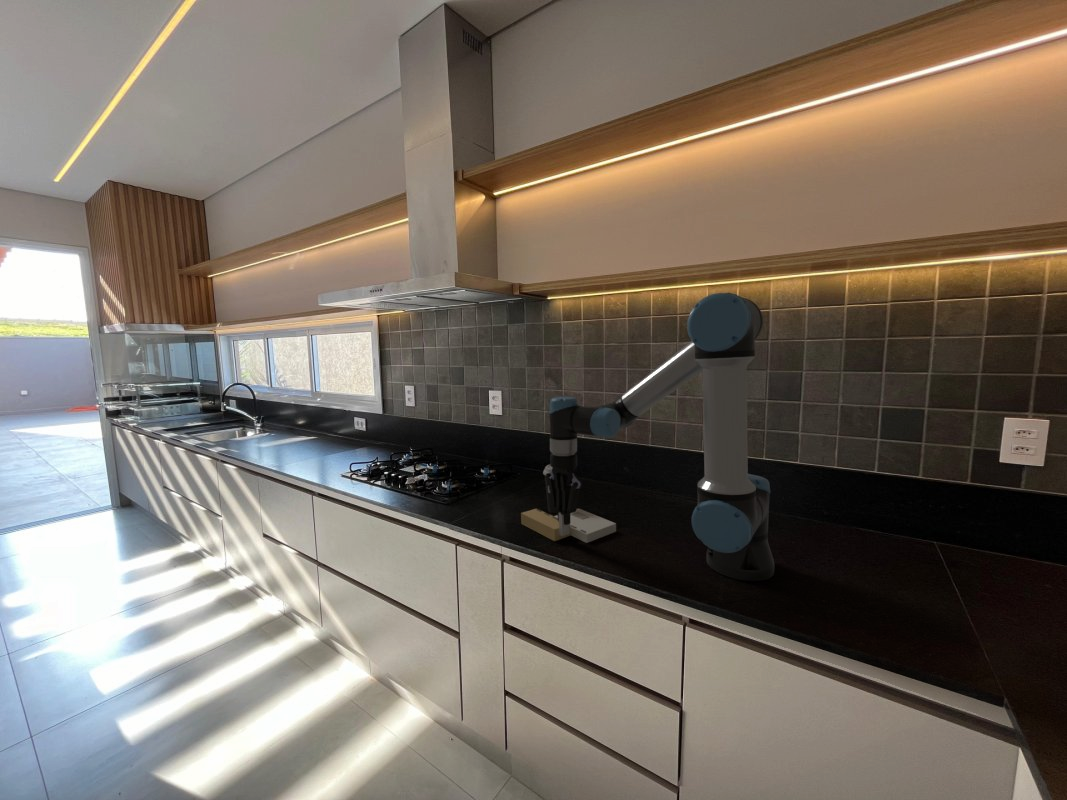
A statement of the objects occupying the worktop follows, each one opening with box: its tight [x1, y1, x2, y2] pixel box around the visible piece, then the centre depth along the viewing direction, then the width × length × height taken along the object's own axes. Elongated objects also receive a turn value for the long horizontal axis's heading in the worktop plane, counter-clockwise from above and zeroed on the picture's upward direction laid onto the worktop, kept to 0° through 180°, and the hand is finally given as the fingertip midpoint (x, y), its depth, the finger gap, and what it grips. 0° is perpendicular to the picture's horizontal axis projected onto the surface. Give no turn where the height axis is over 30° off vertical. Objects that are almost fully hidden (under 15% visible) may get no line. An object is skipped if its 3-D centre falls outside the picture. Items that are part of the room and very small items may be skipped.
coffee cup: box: [542, 464, 558, 515], centre depth 146 cm, size 10×10×15 cm
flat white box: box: [553, 508, 617, 544], centre depth 131 cm, size 16×12×3 cm
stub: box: [520, 508, 571, 542], centre depth 130 cm, size 16×6×4 cm, turn 38°
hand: (564, 534), depth 123 cm, fingers closed
